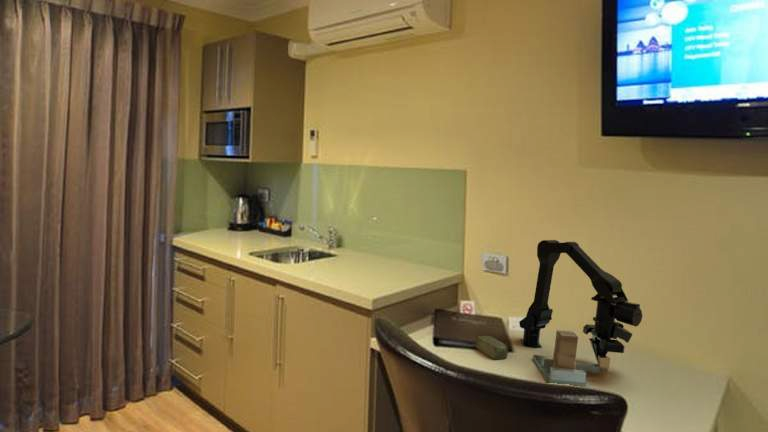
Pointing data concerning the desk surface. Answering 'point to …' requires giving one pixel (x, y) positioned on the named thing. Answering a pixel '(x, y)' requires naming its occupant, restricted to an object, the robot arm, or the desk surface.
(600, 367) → the light brown wooden block
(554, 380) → the frosted green glass slab
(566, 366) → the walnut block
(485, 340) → the stone block
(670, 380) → the desk surface
